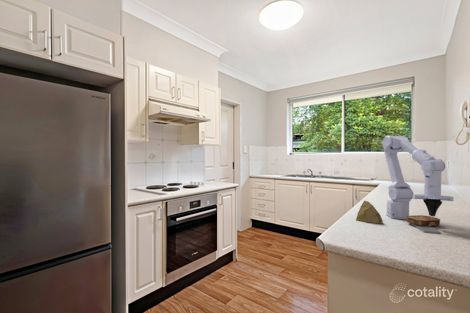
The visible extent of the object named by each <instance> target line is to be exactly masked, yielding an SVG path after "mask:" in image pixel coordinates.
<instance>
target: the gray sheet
mask: <svg viewBox="0 0 470 313" xmlns="http://www.w3.org/2000/svg"><path fill="white" fill-rule="evenodd" d="M407 223H408V224H410V225H412V226H413V227H415V228H416V229H418V230H419V231H421V232H423V233H427V234H428V233H429V234H439V235H440V234H442V232H441V231H440V230H438V229H436V228H434V227H433V226H421V225H416V224H413V223H410V222H407Z"/></svg>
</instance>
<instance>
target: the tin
mask: <svg viewBox="0 0 470 313" xmlns="http://www.w3.org/2000/svg"><path fill="white" fill-rule="evenodd" d="M406 222H407V223H408V222H410V223H413V224H416V225H421V226H431V227H433V226H440V224H441V218H438V217H436V216H430V215H409V216H407V219H406ZM410 223H409V224H410Z"/></svg>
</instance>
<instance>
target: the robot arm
mask: <svg viewBox="0 0 470 313" xmlns="http://www.w3.org/2000/svg"><path fill="white" fill-rule="evenodd" d="M384 136H385V135H384ZM381 144H382V148H383V151H384V157H385V161H386V164H387V168H388V172H389V175H390V179H391V184H390V185H389V186H388V196H389V198H390V199H389V200H387V202H386V216H388V217H389V218H390V219H395V220H396V219H398V220H407V216H410V202H411V201H412V200H423V203H424V205H425V207H426V209H427V211H428V216H430V217H436V214H437V211H438V210H439V208H440V207H441V205H442V204H443V202H447V201H448V202H454V196H452V195H451V196H450V195H442V172H444V171H445V169H446V164H445V161H444V160H443V159H441V158H440V159H439V158H438V159H437V158H435V156H434V155H431V154H429V152H428V151H427V150H426V149H418V148H417V147H416V146H415V145H414V144H413V143H411V142H410V141H409V138H408V137H406V136H405V135H389V134H388V135H386V136H385V137H384V138H383V140H382V142H381ZM401 150H404V151H406V152H408V153H409V154H411V158H412V160H414V161H415V162H416V163H418V164H419V166H420V168H421V169H422V171H423V175H424V184H423V185H424V187H423V188H424V191H423V192H424V194H422V193H421V194H414V191H413V189H412V188H411V185H409V183H407V182H405V180H404V176H403V172H402V167H401V166H400V165H401V164H400V160H399V158H398V153H400V152H401Z"/></svg>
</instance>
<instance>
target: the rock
mask: <svg viewBox="0 0 470 313" xmlns="http://www.w3.org/2000/svg"><path fill="white" fill-rule="evenodd" d="M356 215H357V216H356V218H355V221H356V222H364V223H373V224H383V223H384V222H383V218H382V216H381V214H380V213H379V212H378V210H377V209H376V208H375V206H374V204H372V203H371V202H369V201H367V200H363V202H362V203H361V206H360V208H359V210H358V212H357V214H356Z"/></svg>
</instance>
